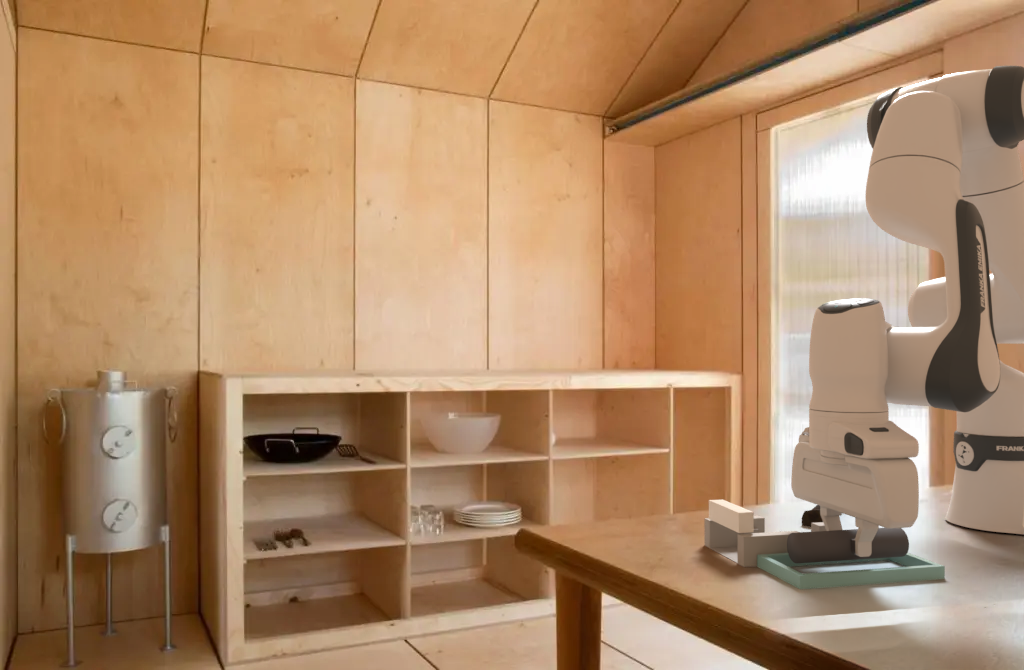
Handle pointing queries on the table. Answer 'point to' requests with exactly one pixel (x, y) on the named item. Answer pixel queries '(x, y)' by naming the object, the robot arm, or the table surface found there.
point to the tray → (851, 571)
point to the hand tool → (811, 516)
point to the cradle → (748, 541)
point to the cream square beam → (731, 516)
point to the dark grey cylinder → (844, 545)
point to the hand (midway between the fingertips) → (848, 550)
